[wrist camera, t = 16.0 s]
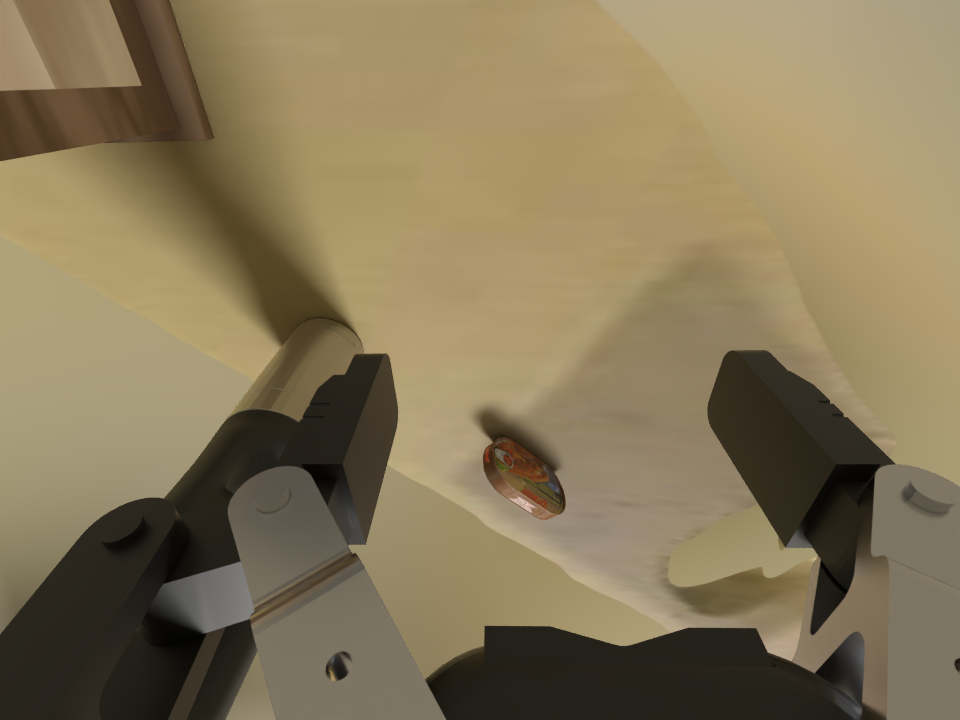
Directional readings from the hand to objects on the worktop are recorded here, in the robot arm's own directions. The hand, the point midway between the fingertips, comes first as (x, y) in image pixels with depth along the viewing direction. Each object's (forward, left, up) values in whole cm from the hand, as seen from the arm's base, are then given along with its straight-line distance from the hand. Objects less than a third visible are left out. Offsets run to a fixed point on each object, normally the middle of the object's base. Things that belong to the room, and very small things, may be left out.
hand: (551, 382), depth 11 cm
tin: (-28, -32, -38) cm, 57 cm away
